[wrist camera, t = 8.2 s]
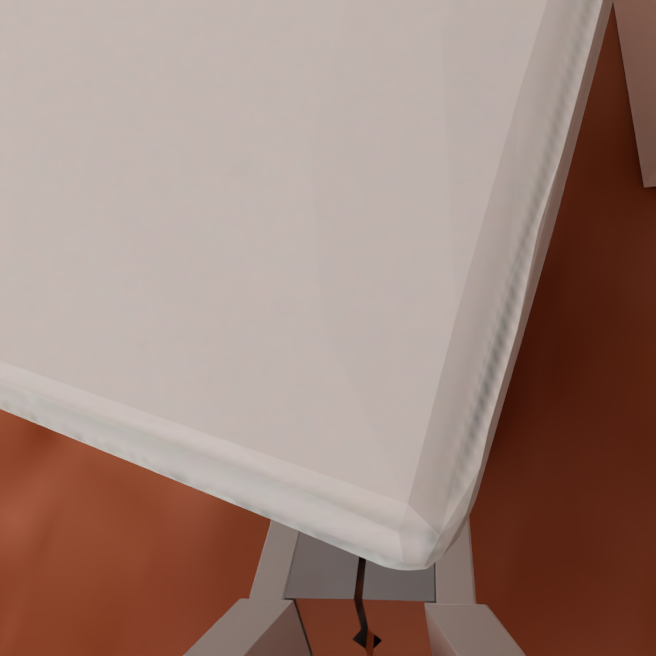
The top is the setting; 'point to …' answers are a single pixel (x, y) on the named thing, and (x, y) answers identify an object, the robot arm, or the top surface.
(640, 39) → the frame
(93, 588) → the top surface
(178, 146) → the supplement box
